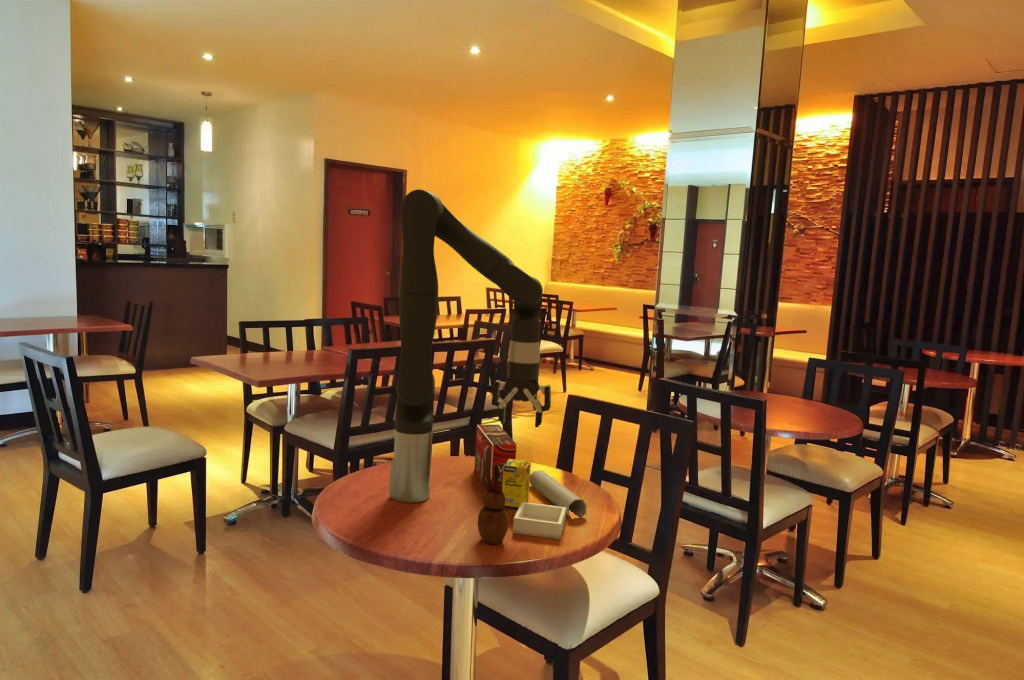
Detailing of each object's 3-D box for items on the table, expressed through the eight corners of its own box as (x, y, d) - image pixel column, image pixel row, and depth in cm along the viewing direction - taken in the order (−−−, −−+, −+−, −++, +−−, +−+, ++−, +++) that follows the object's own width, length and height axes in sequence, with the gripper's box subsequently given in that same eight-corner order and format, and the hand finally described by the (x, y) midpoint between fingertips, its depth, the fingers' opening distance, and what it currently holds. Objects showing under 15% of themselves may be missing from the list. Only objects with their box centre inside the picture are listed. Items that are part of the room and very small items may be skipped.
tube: (523, 471, 187) (565, 503, 164) (541, 464, 189) (584, 495, 166) (528, 489, 188) (570, 523, 166) (545, 481, 190) (589, 515, 167)
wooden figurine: (472, 537, 151) (475, 471, 150) (494, 532, 155) (498, 467, 153) (489, 549, 146) (493, 480, 144) (511, 544, 149) (515, 476, 147)
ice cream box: (474, 470, 198) (476, 424, 196) (496, 469, 200) (498, 424, 198) (489, 494, 179) (492, 444, 177) (513, 494, 180) (516, 444, 179)
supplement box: (524, 511, 169) (527, 468, 167) (500, 508, 170) (502, 465, 168) (528, 503, 174) (531, 461, 173) (505, 500, 176) (508, 458, 174)
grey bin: (512, 533, 155) (513, 518, 155) (521, 515, 166) (522, 501, 165) (560, 539, 153) (561, 524, 153) (565, 521, 164) (566, 507, 163)
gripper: (491, 359, 165) (488, 425, 167) (550, 364, 162) (546, 431, 165) (498, 354, 172) (494, 418, 174) (554, 359, 170) (550, 424, 172)
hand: (519, 424), depth 169 cm, fingers open, 8 cm apart
